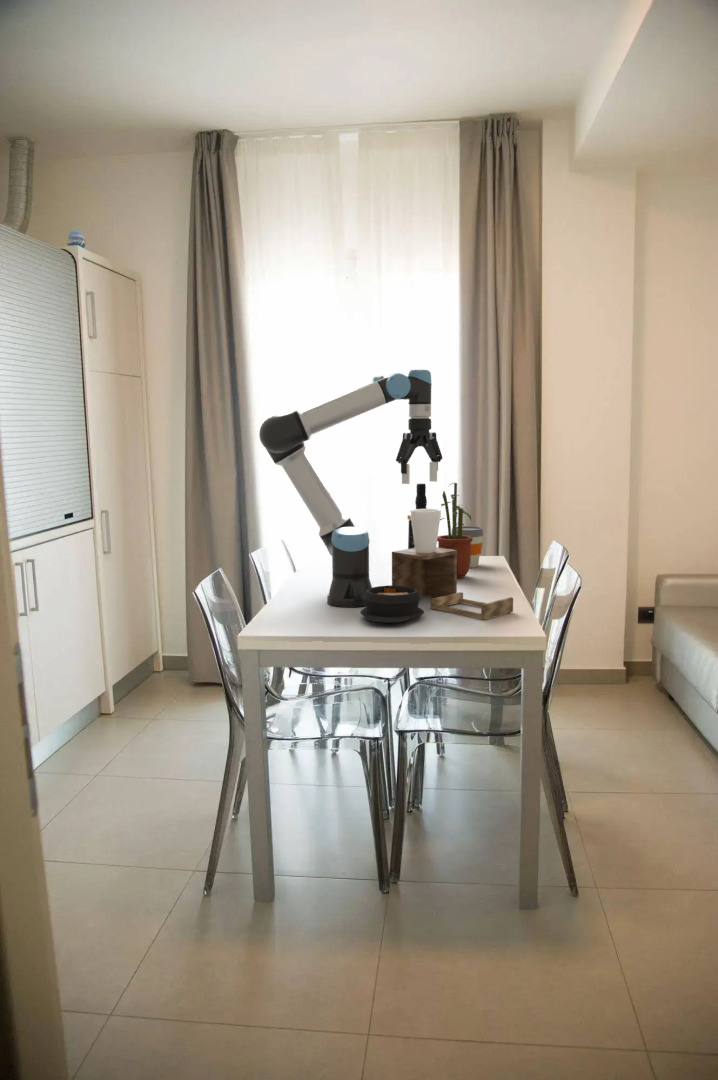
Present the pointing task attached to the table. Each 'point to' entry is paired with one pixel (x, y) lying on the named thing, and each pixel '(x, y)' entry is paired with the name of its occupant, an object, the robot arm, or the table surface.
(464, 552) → the potted plant
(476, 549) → the reusable coffee cup
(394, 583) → the cubby cabinet
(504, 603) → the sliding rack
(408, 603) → the casserole
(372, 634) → the table surface
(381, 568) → the table surface
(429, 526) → the foam cup
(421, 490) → the whiskey bottle
